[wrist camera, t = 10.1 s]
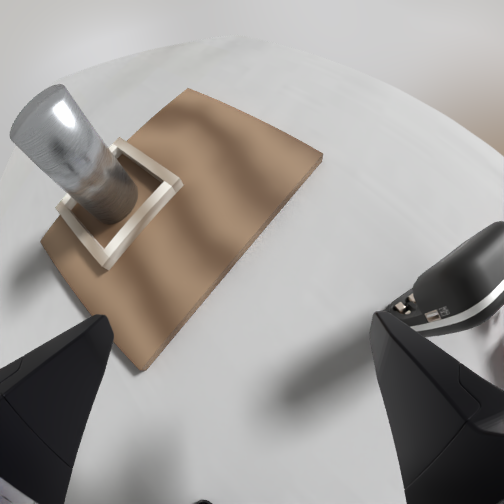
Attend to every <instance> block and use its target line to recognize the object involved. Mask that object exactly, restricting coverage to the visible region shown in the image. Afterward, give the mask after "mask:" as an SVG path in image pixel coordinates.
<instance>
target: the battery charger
mask: <svg viewBox="0 0 504 504" xmlns="http://www.w3.org/2000/svg"><path fill="white" fill-rule="evenodd" d="M503 304H504V222H502V221H499V222H495V223H493V224H491V225H490V226H488V227H486V228H485V229H483V230H482V231H480V232H479V233H477V234H476V235H474V236H473V237H471V238H470V239H468V240H467V241H465V242H464V243H462V244H461V245H460V246H459V247H457V248H456V249H455V250H453V251H452V252H451V253H450V254H448V255H447V256H446V257H444V258H443V259H442V260H440V261H439V262H438V263H436V264H435V265H434V266H432V267H431V268H429V269H428V270H427V271H425V272H424V273H423V274H422V275H421V276H419V277H418V279H417V281H416V282H415V284H414V286H413V288H412V289H410V290H409V291H407V292H406V293H405V294H403V295H402V296H400V297H399V298H397V299H396V300H395V301H393V302H392V303H391V304H390V306H389V308H388V312H389V313H391V314H392V315H393V316H395V317H396V318H398V319H399V320H401V321H402V322H404V323H405V324H406V325H408V326H409V327H411V328H412V329H414V330H415V331H417V332H418V333H419V334H421V335H422V336H424V337H431V336H439V335H445V334H450V333H455V332H460V331H464V330H468V329H471V328H473V327H476V326H478V325H480V324H481V323H483V322H485V321H486V320H487V319H489V318H490V317H491V316H493V315H494V314H495V313H496V312H497V311H498V310H499V309H500V308H501V307H502V306H503Z"/></svg>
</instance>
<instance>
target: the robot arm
mask: <svg viewBox="0 0 504 504" xmlns="http://www.w3.org/2000/svg"><path fill="white" fill-rule="evenodd" d="M113 341H114V332H113V330H112V327H111V325H110V322H109V320H108V318H107V316H106V315H101V314H95V315H93V316H92V317H90V318H88V319H86V320H85V321H83V322H81V323H79V324H78V325H76V326H74V327H72V328H71V329H69V330H67V331H65V332H64V333H62V334H60V335H58V336H57V337H55V338H53V339H51V340H50V341H48V342H46V343H45V344H43V345H41V346H39V347H38V348H36V349H34V350H33V351H31V352H29V353H27V354H26V355H24V357H23V356H22V357H21V358H19V359H17V360H15V361H14V362H12V363H10V364H8V365H7V366H5V367H3V368H1V369H0V504H35V503H37V504H64V502H65V497H66V493H67V489H68V485H69V481H70V477H71V473H72V468H73V466H74V462H75V459H76V455H77V452H78V448H79V445H80V442H81V439H82V435H83V432H84V429H85V426H86V423H87V420H88V417H89V414H90V411H91V408H92V405H93V403H94V400H95V397H96V394H97V392H98V389H99V386H100V383H101V381H102V378H103V375H104V372H105V369H106V365H107V362H108V358H109V354H110V351H111V347H112V344H113ZM370 342H371V348H372V353H373V358H374V364H375V370H376V375H377V380H378V383H379V387H380V390H381V394H382V397H383V401H384V405H385V408H386V412H387V416H388V419H389V423H390V427H391V431H392V435H393V439H394V443H395V448H396V452H397V456H398V461H399V465H400V470H401V475H402V480H403V485H404V489H405V490H404V491H405V496H406V502H407V504H504V391H503V390H501V389H499V388H498V387H496V386H494V385H493V384H491V383H490V382H488V381H486V380H485V379H483V378H482V377H480V376H479V375H477V374H476V373H474V372H473V371H471V370H470V369H469V368H467V367H466V366H464V365H463V364H462V363H460V362H459V361H457V360H456V359H455V358H453V357H452V356H450V355H449V354H448V353H446V352H445V351H443V350H442V349H441V348H439V347H438V346H436V345H435V344H434V343H432V342H431V341H429V340H428V339H426V338H425V337H424V336H422V335H421V334H419V333H418V332H417V331H415V330H414V329H412V328H411V327H409V326H408V325H406V324H405V323H404V322H402V321H401V320H399V319H398V318H396V317H395V316H393V315H392V314H391V313H389V312H387V311H376V312H375V313H374V314H373V318H372V323H371V328H370ZM197 504H212V503H210V502H209V501H207V500H201V501H200V502H199V503H197Z"/></svg>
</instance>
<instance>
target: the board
mask: <svg viewBox="0 0 504 504" xmlns="http://www.w3.org/2000/svg"><path fill="white" fill-rule="evenodd" d="M109 149H110V151H111V152H112V154H113V155H114V156H115V158H116V159H117V160H118V162H119V163H120V164H121V166H122V167H123V168H124V170H125V171H126V172H127V173H128V175H129V176H130V177H131V179H132V180H133V181H134V183H135V184H136V186H137V188H138V199H137V202H136V205H135V207H134V208H133V210H132V211H131V213H130V214H129V215H128V216H127V217H125V218H124V219H123V220H121V221H119V222H117V223H114V224H104V223H102V222H100V221H99V220H98V219H96V218H95V217H94V216H93V215H92V214H91V213H89V212H88V211H87V210H86V209H85V208H84V207H82V206H81V205H80V204H79V203H78V202H77V201H75V200H74V199H73V198H72V197H71V196H70V195H69V194H68V193H67V194H66V195H65V196H64V198H63V199H62V200H61V201H60V202H59V204H58V205H57V206H56V207H55V208H56V210H57V211H58V212H59V214H60V216H59V217H58V218H57V219H56V221H55V222H54V223H53V225H52V226H51V227H50V229H49V230H48V231H47V233H46V234H45V235H44V237H43V238H42V239H41V241H40V242H41V244H42V245H43V247H44V249H45V250H46V252H47V253H48V255H49V256H50V258H51V260H52V261H53V263H54V264H55V266H56V267H57V269H58V270H59V272H60V273H61V275H62V276H63V277H64V279H65V280H66V282H67V283H68V285H69V286H70V287H71V289H72V290H73V291H74V293H75V294H76V296H77V297H78V298H79V300H80V301H81V302H82V304H83V305H84V306H85V307H86V309H87V310H88V311H89V313H90V314H91V315H92V316H93V315H95V314H101V315H106V316H107V318H108V320H109V322H110V325H111V327H112V330H113V332H114V341H113V342H114V343H115V344H116V345H117V346H118V347H119V348H120V350H121V351H122V352H123V353H124V354H125V355H126V356H127V357H128V358H129V359H130V360H131V362H132V363H133V364H134V365H135V366H136V367H137V368H138V369H139V370H140V371H141V370H147V369H148V368H149V366H150V365H151V364H152V363H153V362H154V360H155V359H156V358H157V357H158V356H159V354H160V353H161V352H162V351H163V350H164V348H165V347H166V346H167V345H168V344H169V342H170V341H171V340H172V339H173V338H174V336H175V335H176V334H177V333H178V332H179V330H180V329H181V328H182V327H183V326H184V324H185V323H186V322H187V321H188V320H189V318H190V317H191V316H192V315H193V314H194V312H195V311H196V310H197V309H198V308H199V306H200V305H201V304H202V303H203V302H204V300H205V299H206V298H207V297H208V296H209V295H210V293H211V292H212V291H213V290H214V289H215V287H216V286H217V285H218V284H219V283H220V281H221V280H222V279H223V278H224V277H225V275H226V274H227V273H228V272H229V271H230V269H231V268H232V267H233V266H234V265H235V264H236V262H237V261H238V260H239V259H240V258H241V256H242V255H243V254H244V253H245V252H246V250H247V249H248V248H249V247H250V246H251V245H252V243H253V242H254V241H255V240H256V239H257V237H258V236H259V235H260V234H261V233H262V231H263V230H264V229H265V228H266V227H267V226H268V224H269V223H270V222H271V221H272V220H273V218H274V217H275V216H276V215H277V214H278V213H279V211H280V210H281V209H282V208H283V207H284V205H285V204H286V203H287V202H288V201H289V200H290V198H291V197H292V196H293V195H294V194H295V192H296V191H297V190H298V189H299V188H300V187H301V185H302V184H303V183H304V182H305V181H306V180H307V178H308V177H309V176H310V175H311V174H312V172H313V171H314V170H315V169H316V168H317V167H318V165H319V164H320V163H321V162H322V158H323V153H321V152H319V151H318V150H316V149H314V148H312V147H311V146H309V145H307V144H305V143H303V142H302V141H300V140H298V139H296V138H294V137H292V136H291V135H289V134H287V133H285V132H283V131H281V130H279V129H277V128H275V127H273V126H271V125H269V124H267V123H265V122H263V121H261V120H259V119H257V118H255V117H253V116H251V115H249V114H247V113H245V112H243V111H240V110H238V109H236V108H234V107H232V106H230V105H227V104H225V103H223V102H221V101H218V100H216V99H214V98H211V97H209V96H206V95H204V94H202V93H199V92H197V91H194V90H192V89H189V88H187V89H186V90H185V91H184V92H182V93H181V94H180V95H179V96H177V97H176V98H175V99H174V100H172V101H171V102H170V103H169V104H168V105H166V106H165V107H164V108H163V109H162V110H160V111H159V112H158V113H157V114H156V115H155V116H154V117H152V118H151V119H150V120H149V121H148V122H147V123H146V124H145V125H143V126H142V127H141V128H140V129H139V130H138V131H137V132H136V133H135V134H134V135H133V136H132V137H131V138H129V139H128V140H127V141H125V140H123V139H122V138H120V137H119V138H118V139H117V140H116V141H115V142H114V143H113V144H112V145H111V146H110V147H109Z"/></svg>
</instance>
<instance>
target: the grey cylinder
mask: <svg viewBox="0 0 504 504" xmlns="http://www.w3.org/2000/svg"><path fill="white" fill-rule="evenodd" d="M10 139H11V140H12V141H13V142H14V143H15V144H16V145H17V146H18V147H19V148H20V149H21V150H22V151H23V152H24V153H25V154H26V155H27V156H28V157H29V158H30V159H31V160H32V161H33V162H34V163H35V164H36V165H37V166H38V167H39V168H40V169H41V170H42V171H43V172H45V173H46V174H47V175H48V176H49V177H50V178H51V179H52V180H53V181H54V182H55V183H56V184H58V185H59V186H60V187H61V188H62V189H63V190H64V191H65V192H66V193H68V194H69V195H70V196H71V197H72V198H73V199H74V200H75V201H77V202H78V203H79V204H80V205H81V206H82V207H84V208H85V209H86V210H87V211H88V212H89V213H91V214H92V215H93V216H94V217H95V218H96V219H98V220H99V221H100V222H102V223H104V224H114V223H117V222H119V221H121V220H123V219H124V218H125V217H127V216H128V215H129V214H130V213H131V211H132V210H133V208H134V207H135V205H136V202H137V199H138V188H137V186H136V184H135V183H134V181H133V180H132V179H131V177H130V176H129V175H128V173H127V172H126V171H125V170H124V168H123V167H122V166H121V164H120V163H119V162H118V160H117V159H116V158H115V156H114V155H113V154H112V152H111V151H110V149H109V148H108V147H107V145H106V144H105V143H104V141H103V140H102V139H101V137H100V136H99V134H98V133H97V132H96V130H95V129H94V127H93V126H92V125H91V123H90V122H89V120H88V119H87V118H86V116H85V115H84V113H83V112H82V111H81V109H80V108H79V106H78V105H77V103H76V102H75V100H74V99H73V98H72V96H71V95H70V93H69V92H68V90H67V89H66V87H65V86H64V85H62V84H58V85H54V86H51V87H49V88H47V89H46V90H44V91H42V92H41V93H39V94H38V95H37V96H35V97H34V98H33V99H32V100H31V101H30V102H29V103H28V104H27V105H26V106H25V107H24V108H23V110H22V111H21V112H20V113H19V115H18V116H17V118H16V120H15V121H14V123H13V125H12V127H11V131H10Z"/></svg>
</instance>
